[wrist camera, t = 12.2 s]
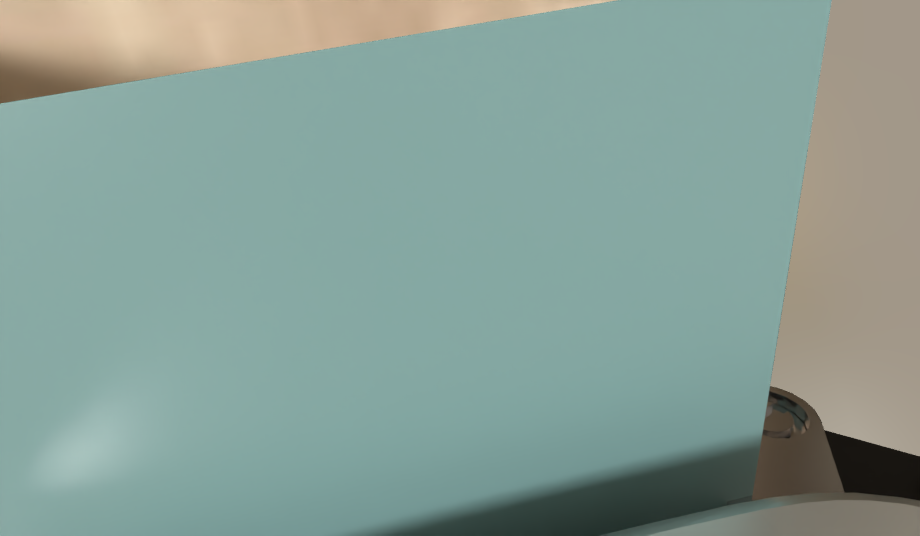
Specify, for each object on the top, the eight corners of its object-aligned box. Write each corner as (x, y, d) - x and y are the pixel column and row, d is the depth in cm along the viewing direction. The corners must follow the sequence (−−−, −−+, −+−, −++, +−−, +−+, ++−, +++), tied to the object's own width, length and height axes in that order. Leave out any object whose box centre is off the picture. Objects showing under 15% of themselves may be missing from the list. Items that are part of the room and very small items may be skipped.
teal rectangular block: (166, 89, 10) (-401, 169, 3) (525, 29, 10) (838, -37, 3) (334, 517, 15) (294, 907, 8) (562, 462, 16) (706, 785, 9)
